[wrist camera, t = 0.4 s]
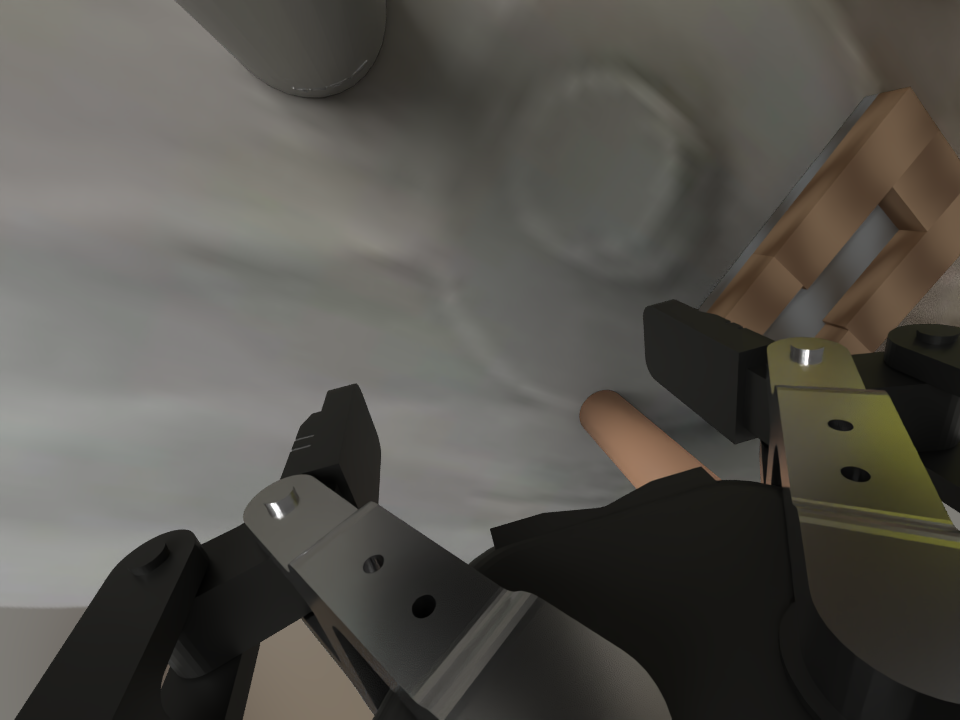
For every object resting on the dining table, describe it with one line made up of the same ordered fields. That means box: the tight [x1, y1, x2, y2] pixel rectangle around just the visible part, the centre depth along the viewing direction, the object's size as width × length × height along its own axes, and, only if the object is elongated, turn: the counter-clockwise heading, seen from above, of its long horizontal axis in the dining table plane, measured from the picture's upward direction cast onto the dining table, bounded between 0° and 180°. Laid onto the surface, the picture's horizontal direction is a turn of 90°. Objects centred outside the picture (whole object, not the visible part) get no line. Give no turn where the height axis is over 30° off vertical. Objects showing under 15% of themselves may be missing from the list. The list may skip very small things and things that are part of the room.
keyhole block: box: [698, 87, 960, 355], centre depth 35 cm, size 22×14×3 cm, turn 145°
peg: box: [580, 390, 721, 489], centre depth 31 cm, size 4×4×12 cm
